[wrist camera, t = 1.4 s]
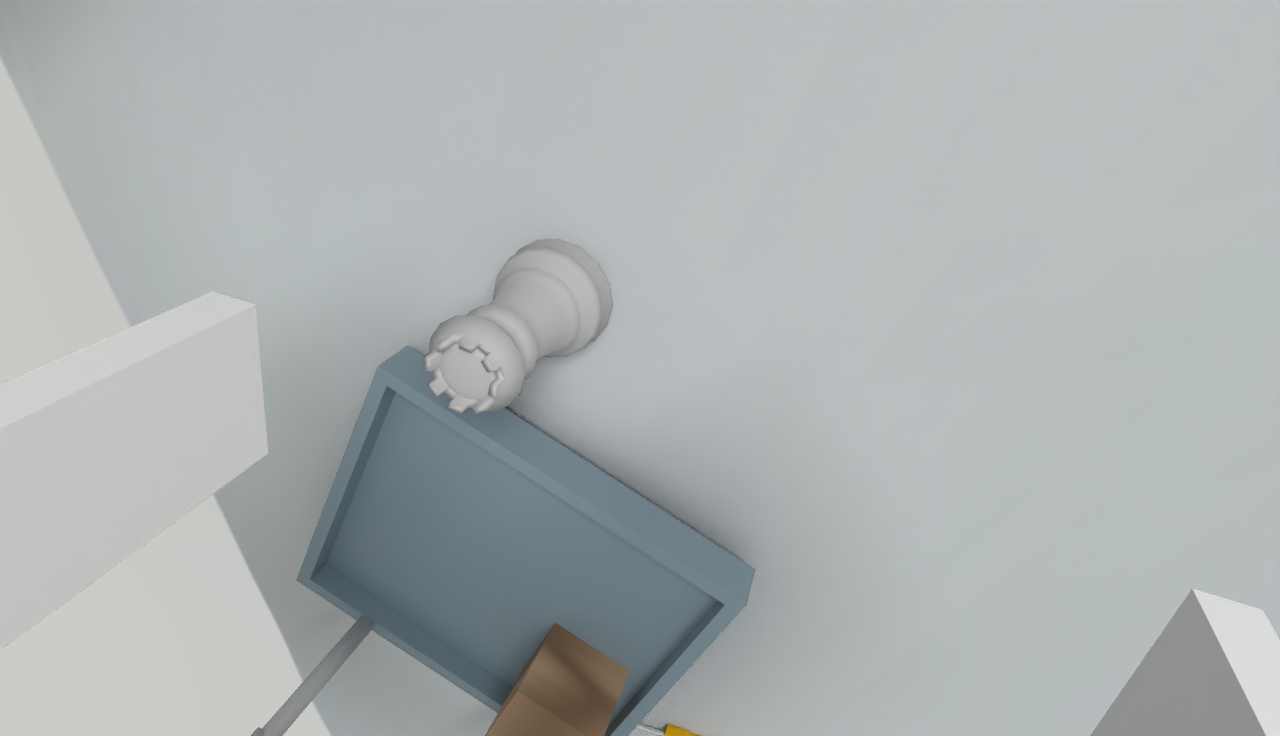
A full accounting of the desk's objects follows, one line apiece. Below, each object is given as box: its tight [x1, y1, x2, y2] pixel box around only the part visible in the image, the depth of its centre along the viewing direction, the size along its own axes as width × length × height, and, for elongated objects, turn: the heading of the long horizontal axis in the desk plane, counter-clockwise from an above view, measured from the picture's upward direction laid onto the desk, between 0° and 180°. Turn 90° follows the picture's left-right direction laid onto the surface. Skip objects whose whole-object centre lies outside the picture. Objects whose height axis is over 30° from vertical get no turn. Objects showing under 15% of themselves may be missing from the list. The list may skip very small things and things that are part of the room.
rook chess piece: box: [423, 239, 612, 415], centre depth 26 cm, size 4×4×8 cm
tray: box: [251, 346, 755, 736], centre depth 31 cm, size 14×17×10 cm
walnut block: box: [485, 623, 630, 736], centre depth 34 cm, size 4×4×4 cm
